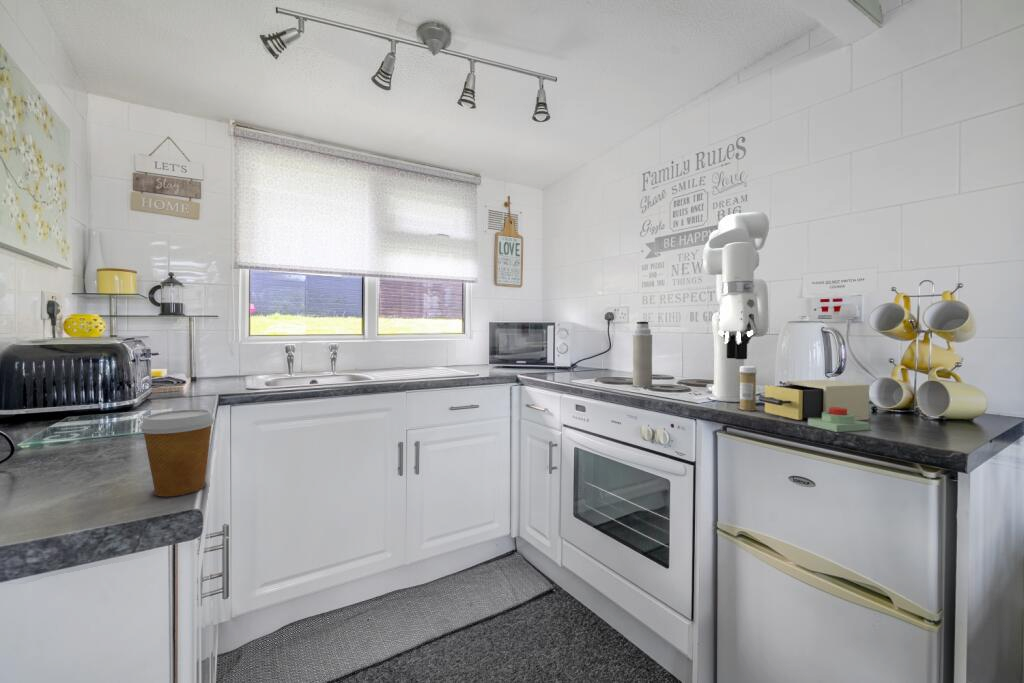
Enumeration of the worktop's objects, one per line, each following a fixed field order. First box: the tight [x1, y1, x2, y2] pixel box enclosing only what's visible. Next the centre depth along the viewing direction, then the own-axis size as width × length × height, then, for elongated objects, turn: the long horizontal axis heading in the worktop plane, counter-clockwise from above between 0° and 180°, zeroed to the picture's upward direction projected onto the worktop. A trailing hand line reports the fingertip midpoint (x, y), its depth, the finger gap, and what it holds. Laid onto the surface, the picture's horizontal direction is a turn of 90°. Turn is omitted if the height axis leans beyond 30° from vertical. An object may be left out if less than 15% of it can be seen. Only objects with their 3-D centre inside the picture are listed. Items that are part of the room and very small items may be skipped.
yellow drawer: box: [757, 384, 824, 421], centre depth 124 cm, size 18×11×8 cm, turn 103°
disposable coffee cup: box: [139, 408, 216, 498], centre depth 70 cm, size 10×10×12 cm
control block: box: [807, 411, 870, 433], centre depth 112 cm, size 8×10×4 cm
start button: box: [829, 407, 847, 415], centre depth 112 cm, size 4×4×2 cm
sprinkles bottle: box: [739, 365, 757, 412], centre depth 136 cm, size 5×5×13 cm
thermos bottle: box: [632, 321, 653, 388], centre depth 193 cm, size 8×8×28 cm
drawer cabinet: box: [786, 379, 870, 421], centre depth 126 cm, size 15×13×10 cm
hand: (736, 358), depth 119 cm, fingers closed
